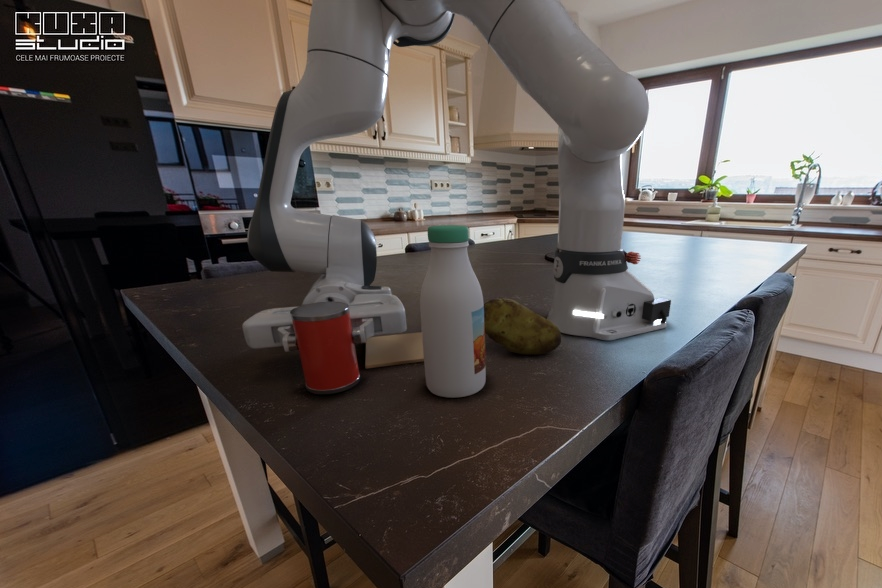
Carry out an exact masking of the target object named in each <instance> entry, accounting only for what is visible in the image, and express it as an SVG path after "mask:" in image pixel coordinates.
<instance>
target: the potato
mask: <svg viewBox="0 0 882 588" xmlns="http://www.w3.org/2000/svg"><path fill="white" fill-rule="evenodd" d="M483 304H484V325H485V335H487V337H488V338H489V339H490V340H492V341H493V342H495V343H497V344H499V345H501V347H503V348H504V349H506V350H507V351H509V352H511V353H515V354H517V355H518V354H519V355H523V356H531V355H532V356H533V355H536V356H537V355H543V354H547V353H551V352H553V351H555V350H556V349H557V348H558V347H559V346H560V345H561V343H562V332H560V330H559V328H558V327H557V326H556V325H555V324H553V323H552V322H550V321H549V320H547V318H546V317H544V316H542V315H540V314H538V313H536V312H534V311H533V310H532V309H530V308H528V307H526V306H524V305H523V304H522V303H519V302H518V301H517V300H514V299H511V298H506V297H505V298H504V297H497V298H492V299H490V300H488V301H486V302H485V303H483Z"/></svg>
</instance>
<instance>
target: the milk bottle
mask: <svg viewBox="0 0 882 588" xmlns="http://www.w3.org/2000/svg"><path fill="white" fill-rule="evenodd" d="M427 240H428V245H427V246H428V247H429V248H430V260H429V264H428V267H427V270H426V274H425V276H424V279H423V280H422V281H423V282H422V285H421V288H420V295H419V311H420V313H419V314H420V326H421V327H420V329H421V332H422V342H423V354H424V361H423V362H424V363H423V365H424V374H425V375H424V376H425V377H424V379H425V386H426V387H427V389H428V390H429V392H430V393H432V394H434V395H436V396H438V397H443V398H451V399H454V398H463V397H468V396H472V395H475V394H476V393H478V392H479V391H481V390H482V389H483V388H484V387H485V385H486V380H487V377H486V376H487V371H486V370H487V369H486V368H487V364H486V363H487V362H486V361H487V360H486V333H485V325H484V304H485V303H484V296H483V291H482V287H481V284H480V282H479V280H478V278H477V275H476V273H475V271H474V269H473V266H472V265H471V264H472V263H471V261H470V258H469V254H468V247H470V243H469V240H470V232H469V227H468V226H465V225H458V224H441V225H431V226H428V227H427Z"/></svg>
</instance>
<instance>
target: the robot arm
mask: <svg viewBox="0 0 882 588" xmlns="http://www.w3.org/2000/svg"><path fill="white" fill-rule="evenodd" d="M309 13H310V14H309V20H308V32H307V44H306V45H307V47H306V53H307V54H306V64H305V68H304V72H303V73H302V76H301V79H300V80H299V81H298V84H297V85H296V86H295V87H294V88H293V89H289V90H287V91H284V92H282V94H281V96H280V97H279V100H278V101H277V104H276V106H275V110H274V113H273V118H272V122H271V127H270V132H269V136H268V141H267V145H266V151H265V156H264V161H263V166H262V172H261V178H260V182H259V188H258V193H257V197H256V201H255V205H254V208H253V212H252V216H251V219H250V221H249V224H248V230H247V234H246V235H247V237H246V239H247V247H248V253H249V254H250V255H251V256H252V258H254V260H255V261H256V262H258V263H259V264H260V265H261V266H263V267H264V268H265V269H266V270H268V271H270V272H272V273H273V272H275V273H276V272H277V273H296V272H298V273H307V274H314V275H315V274H316V275H317V274H318V275H320V276H319V277H318V278H317V279H316V280H315V281H314V283H313V284H312V286H311V288H310V289H309V291H308V292H307V294H306V296H305V297H304V299H303V300H302V304H301V306H302V305H306V304H311V303H317V302H343V303H346V304H348V305H349V310H350V311H349V312H350V319H351V325H352V337H353V343H354V344H355V345H359V344H360V345H361V344H366V339H368V338H370V337H379V336H389V335H398V334H404V333H405V332H406V331H407V329H408V327H407V326H408V325H407V317H406V309H405V306H404V304H403V302H402V301H401V300H400V298H399V297H398V296H397V295H395V294H393V293H392V289H391V287H389V286H381V285H372V284H373V282H374V281H375V279H376V273H377V262H378V253H377V243H376V242H377V241H376V235H375V234H374V232H373V230H372V229H371V228H370V226H369V225H368V224H367V223H366V222H365V221H364V220H363V219H358V218H352V217H347V216H342V215H341V216H340V215H334V214H332V215H331V214H326V213H319V212H312V211H305V210H300V209H297V208H295V207H293V206H292V204H291V201H292V197H293V192H294V187H295V184H296V183H295V182H296V177H297V173H298V168H299V163H300V159H301V156H302V154H303V152H304V151H305V150H306V149H307V148H308V147H309V146H311V145H313V144H315V143H317V142H321V141H325V140H330V139H331V140H332V139H336V138H337V139H338V138H343V137H351V136H354V135H359V134H361V133H364V132H366V131H368V130H370V129H371V128H373V127H374V126H375V125H376V124H377V123H378V122H379V121H380V120H381V118H382V117H383V116H384V115H383V114H384V111H385V107H386V103H387V97H388V89H389V75H390V61H391V52H392V48H393V45H395V46H396V47H398V48H407V47H430V46H431V47H432V46H435V45H437V44H440V42H442V41H444V39H445V38H446V37H447V36H448V34H449V32H450V31H451V28H452V27H453V22H454V21H455V16H456V15H457V16H459V17H461V18H463V19H465V20H466V21H468V22H469V23H471V25H472V26H474V27H475V28H476V29H477V31H478V32H479V34H480V35H481V36H482V38H483V39H484V41H485V42H486V43H487V45H488V46H489V48H490V49H491V50H492V51H493V53H494V54H495V55H496V57H497V58H498V59H499V61H500V62H501V63H502V65H503V66H504V67H505V69H506V70H507V71H508V72H509V74H510V75H511V76H512V78H513V79H514V80H515V81H516V83H517V84H518V85H519V86H520V88H521V89H522V91H523V92H524V93H526V94H527V95H529V97H531V98H532V100H534V101H535V102H536V103H537V105H539V107H540V108H541V109H542V110H543V111H544V112H545V113H546V114H547V115H548V116H549V117H550V118H551V119H552V120H553V121H554V122H555V124H556V125H557V127H558V128H557V171H558V172H557V173H558V177H557V178H558V225H557V226H558V227H557V247H555V249H554V260H553V278H554V286H553V292H552V298H551V302H550V307H549V311H548V315H547V316H546V319H547V320H549V321H550V322H552V323H553V324H555V325H556V326H557V327H558V328H559V330H560V333H561V334H566V335H570V336H571V335H572V336H578V337H588V338H593V339H598V340H601V341H615V340H619V339H622V338H627V337H632V336H636V335H640V334H645V333H649V332H654V331H658V330H662V329H665V328H667V320H668V319H667V318H669V316H670V311H671V304H672V300H671V299H667V298H664V297H660V298H655V296H654V293H653V291H652V290H651V289H650V288H649V287H648V286H646V285H645V283H643V282H642V281H641V280H639V278H637V277H636V276H635V275H634V274H633V273H631V271H630V270H629V267H628V264H632V265H638V264H639V262H641V258H642V255H641V254H640V253H639V252H634V251H628V252H627V251H626V250H624V249H622V243H623V241H622V240H623V232H624V231H623V230H624V222H625V211H626V198H625V194H624V190H623V189H624V187H623V175H622V155H623V154H625V153H626V152H627V151H629V150H630V149H631V148H632V147H633V146H634V144H635V143H636V142H637V141H638V140H639V138H640V137H641V135H642V133H643V131H644V129H645V128H646V125H647V122H648V118H649V113H650V112H649V111H650V105H649V104H650V102H649V97H648V93H647V90H646V89H645V87H644V85H643V84H642V82H640V80H639V79H638V78H636V76H634V75H632V74H630V73H628V72H626V71H624V70H622V69H621V68H620V67H619V66H618V65H617V64H616V63H615V62H614V61H613V60H612V59H611V58H610V57H609V56H608V55H607V54H606V53H605V52H604V51H603V50H602V49H601V48H600V47H599V46H598V45H597V44H596V43H594V42H593V40H592V39H590V38H589V36H587V35H586V33H585V32H584V31H583V30H582V29H581V28H580V26H579V25H578V23H576V21H575V20H574V18H573V17H572V15H571V14H570V13H569V11H568V10H567V8H566V6H565V5H563V2H562V1H561V0H312V3H311V8H310V12H309ZM299 306H300V305H298V306H296V305H295V306H285V307H274V308H268V309H267V308H266V309H263V310H261V311H258V312H256V313H255V314H253V315H252V316H250V317H249V318H247V319H246V320H244V321H243V323H242V332H243V337H244V340H245V343H246V345H247V346H248V348H250V349H252V350H263V349H270V348H271V349H272V348H282V347H283V350H284V352H285V353H287V352H295V351H299V350H298V345H297V341H296V336H295V331H294V327H293V322H292V318H291V315H290V311H291V310H292V309H294V308H296V307H299Z"/></svg>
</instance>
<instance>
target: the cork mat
mask: <svg viewBox="0 0 882 588" xmlns="http://www.w3.org/2000/svg"><path fill="white" fill-rule="evenodd" d="M364 358H365V362H364V367H365V369H366V370H367V369H373V368H381V367H391V366H397V365H406V364H413V363H420V362H424V354H423V342H422V331H419V332H410V333H409V332H408V333H400V334H391V335H382V336H373V337H370V338H368V339H366V343H365V357H364Z"/></svg>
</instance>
